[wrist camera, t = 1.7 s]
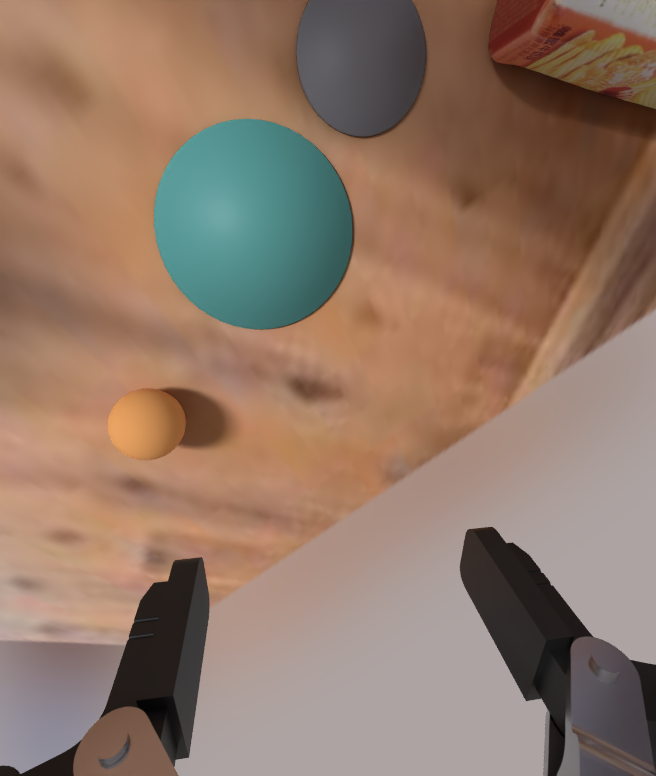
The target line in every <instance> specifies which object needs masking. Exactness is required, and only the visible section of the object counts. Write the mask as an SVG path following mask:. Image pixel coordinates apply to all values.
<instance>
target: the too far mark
mask: <svg viewBox="0 0 656 776" xmlns="http://www.w3.org/2000/svg"><path fill="white" fill-rule="evenodd" d="M296 58H297V67H298V73H299V77H300V81H301V84H302V87H303V90H304V92H305V95H306V97H307V99H308V101H309V102H310V104H311V106H312V107H313V109H314V110H315V111H316V113H317V114H318V115H319V116H320V117H321V118H322V119H323V120H324V121H325V122H326V123H327V124H328V125H330V126H331V127H332V128H334V129H336V130H338V131H339V132H342V133H345V134H347V135H352V136H360V137H364V136H372V135H376V134H379V133H381V132H384V131H386V130H388V129H389V128H391V127H392V126H394V125H395V124H396V123H397V122H399V121H400V120H401V119H402V118H403V117H404V116H405V114H406V113H407V112H408V110H409V109H410V108H411V106H412V105H413V103H414V101H415V99H416V97H417V95H418V92H419V90H420V87H421V84H422V81H423V76H424V71H425V63H426V45H425V36H424V31H423V26H422V23H421V20H420V17H419V14H418V12H417V10H416V7H415V6H414V4H413V2H412V0H310V1H309V2H308V4H307V6H306V8H305V11H304V13H303V16H302V19H301V22H300V26H299V30H298V35H297V45H296Z"/></svg>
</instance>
